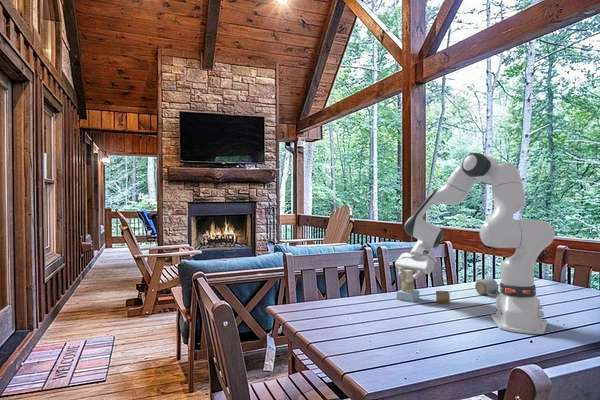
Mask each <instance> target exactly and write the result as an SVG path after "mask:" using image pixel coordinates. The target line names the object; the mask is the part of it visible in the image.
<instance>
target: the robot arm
mask: <svg viewBox="0 0 600 400" xmlns="http://www.w3.org/2000/svg"><path fill="white" fill-rule="evenodd" d="M477 183H481V184H482V185H489V186H491V189H492V190H491V191H492V196H493V205H494V207H493V211H492V214H491V215H490V217H489V219H487V220H486V221H485V222H483V224H482V225H480V226H481V227H480V228H479V238H480V240H481V242H482V243H483V244H484V245H485V246H487V247H491V248H498V249H515V252H514V253H513V254H512V255H511V256H509V257H507V258H505V259H504V260H503V261H502V262H501V264H500V282H499V293H500V294H499V295H498V296H497V297H495V307H496V308H495V312H496V313H493V314H491V315H490V318H491V319H492V321H493V322H494V323H495V325H496V326H497V328H498V329H500V330H504V331H507V332H514V333H519V334H521V333H522V334H530V335H533V334H534V335H544V334H545V332H546V330H547V326H548V320H547V319H544V317H545V312H544V310H542V309H543V305H541V300H540V298H538V296H536V295H537V287H536V284H535V267H536V266H535V265H536V262H537V259H538V257H539V256H540V255H541V253H542V252H543V250H545V249H546V248H547V247H548V246H550V245H551V244H552V243H553V242H554V239H555V229H554V228H553V226H552V225H551V224H550V223H549V222H548V221H545V220H542V219H541V220H540V219H535V218H534V219H533V218H532V219H531V218H530V219H515V218H514V214H516V213H519V212H520V211H522V210H523V209H524V208H525V206H526V204H527V198H526V194H525V189H524V184H523V180H522V176H521V174H520V173H519V170H518V168H517V166H516V165H515V164H514V163H512V162H500V161H499V160H496V159H495V158H493V157H491V156H488V155H486V154H483V153H482V152H471V153H468V154H467V155H466V156H465V157H464V158H463V160H462V161H461V164H459V165H458V166H456V168H455V169H454V170H453V171H452V173H451V174H450V176H448V179H447V181H446V182H445V184H444V185H443V186H442V187H441V188H439V189H436V188H435V189H434V190H432V192H431V193H430V194H429V195H428V196H427V197H426V199H424V201H423V202H422V203H421V205H420V206H419V207H418V208H417V209H416V211H415V212H414V213H413V214H412V215H411V216H410V217H409V218H408V219H407V220H406V222H405V223H404V226H403V228H404V231H405V234H406V235H408V236H410V237H413V238H415V239H417V241H416V243H415V244H414V245H413V247H412V248H411V250H410V251H409V252H404V253H402V254H401V255H400V256H399V257H398V258H397V259H396V260H395V262H394V266H395V267H396V268H397V269H398V272H397V276H398V277H401V270H406V269H408V270H413V274H414V275H413V279H414V280H417V279H418V278H419V277H420V276H422V275H423V274H425V275H426V274H427V275H429V274H431V273H432V272H433V270H434V268H435V265H436V263H437V258H436V257H435V255H434V254H433V253H432V250H434V249H436V248H438V247H440V244H441V242H442V241H443V239H444V237H445V234H444V231H443V230H442V229H441V228H440V227H438V226H436V225H434V224H432V223H430V222H428V221H426V220H424V219H423V216H424V215H425V214H426V213H427V212H428V210H429V209H430V208H431V207H432V206H434V205H438V204H440V205H446V206H447V205H449V206H454V205H455V206H456V205H459V204H460V205H461V204H462V203H464V201H465V200H466V198H467V197H468V195H469V193H470V191H472V189H473V187H474V186H475V184H477ZM414 272H416V273H414Z"/></svg>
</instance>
